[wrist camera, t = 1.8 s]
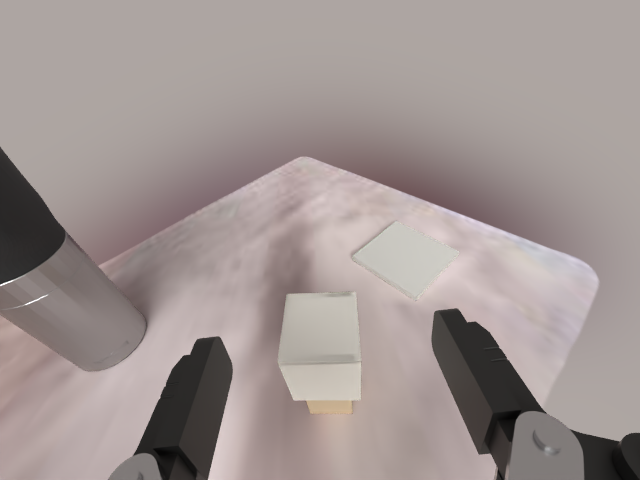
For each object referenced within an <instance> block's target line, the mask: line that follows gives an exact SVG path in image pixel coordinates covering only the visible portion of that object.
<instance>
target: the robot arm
mask: <svg viewBox="0 0 640 480" xmlns="http://www.w3.org/2000/svg"><path fill="white" fill-rule="evenodd" d="M0 315H1V316H3V317H4V318H6V319H7V320H9V321H10V322H12V323H13V324H15V325H16V326H18V327H19V328H21V329H22V330H24V331H25V332H27V333H28V334H30V335H31V336H33V337H34V338H36V339H37V340H39V341H40V342H42V343H43V344H45V345H46V346H48V347H49V348H51V349H52V350H54V351H55V352H57V353H58V354H60V355H61V356H63V357H64V358H66V359H67V360H69V361H70V362H72V363H73V364H75V365H76V366H78V367H79V368H81V369H83V370H85V371H100V370H103V369H107V368H109V367H111V366H114V365H115V364H117V363H119V362H120V361H122V360H123V359H124V358H126V357H127V356H128V355H129V354H130V353H131V352H132V351H133V350H134V349H135V348H136V347H137V346H138V344H139V343H140V341H141V340H142V338H143V336H144V333H145V330H146V321H145V318H144V317H143V315H142V314H141V313H140V312H139V311H138V310H137V309H136V308H135V306H134V305H133V304H132V303H131V302H130V301H129V300H128V299H127V297H126V296H125V295H124V294H123V293H122V292H121V291H120V290H119V289H118V288H117V286H116V285H115V284H114V283H113V282H112V281H111V280H110V279H109V278H108V277H107V275H106V274H105V273H104V272H103V271H102V270H101V269H100V268H99V267H98V266H97V265H96V263H95V262H94V261H93V260H92V259H91V258H90V257H89V256H88V255H87V254H86V253H85V251H84V250H83V249H82V248H81V247H80V246H79V245H78V244H77V243H76V242H75V241H74V239H73V238H72V237H71V236H70V235H69V234H68V233H67V232H66V231H65V230H64V228H63V227H62V226H61V225H60V224H59V223H58V222H57V220H56V219H55V218H54V216H53V215H52V213H51V212H50V210H49V208H48V207H47V205H46V204H45V202H44V201H43V200H42V198H41V197H40V196H39V194H38V193H37V192H36V191H35V189H34V188H33V187H32V186H31V185H30V184H29V182H28V181H27V180H26V179H25V178H24V176H23V175H22V174H21V173H20V171H19V170H18V169H17V168H16V166H15V165H14V164H13V163H12V162H11V160H10V159H9V158H8V156H7V155H6V154H5V153H4V151H3V150H2V149H1V147H0ZM432 347H433V351H434V354H435V357H436V359H437V361H438V363H439V366H440V368H441V370H442V372H443V375H444V377H445V379H446V381H447V384H448V386H449V388H450V390H451V393H452V395H453V397H454V399H455V402H456V404H457V406H458V409H459V411H460V413H461V415H462V418H463V420H464V422H465V424H466V427H467V429H468V431H469V433H470V436H471V438H472V440H473V442H474V445H475V447H476V449H477V451H478V454H489V453H491V455H492V457H493V459H494V461H495V463H496V465H497V466H496V471H495V477H494V480H640V433H631V434H629V435H626V436H625V437H624V438H623V439H622V440H621V441H620V442H619V441H614V440H610V439H605V438H600V437H596V436H592V435H586V434H582V433H579V432H576V431H573V430H571V429H569V428H567V427H566V426H565V425H564V424H563V423H562V422H560V421H559V420H557V419H556V418H554V417H552V416H550V415H548V414H547V413H546V412H545V411H544V410H543V409H542V408H541V406H540V405H539V404H538V402H537V401H536V399H535V398H534V397H533V395H532V394H531V392H530V391H529V389H528V388H527V386H526V385H525V383H524V382H523V380H522V379H521V378H520V376H519V375H518V373H517V372H516V370H515V369H514V367H513V366H512V364H511V363H510V362H509V360H507V357H506V356H505V354H504V353H503V351H502V350H501V349H500V348H499V345H498V344H497V343H496V341H495V340H494V338H493V337H492V335H491V334H490V332H488V331H487V330H486V329H485V328H483V327H482V326H481V325H479V324H478V323H477V322H468V323H467V322H466V320H465V318H464V317H463V315H462V314H461V312H460V311H459V310H458V309H457V308H455V309H447V310H438V311H435V313H434V320H433V329H432ZM232 373H233V369H232V362H231V359H230V357H229V355H228V353H227V351H226V348H225V346H224V344H223V342H222V340H221V338H220V337H218V336H217V337H209V338H201V339H197V340H196V342H195V344H194V346H193V349H192V351H191V354H190V355H184V356H183V357H182V358H181V359H180V360H179V362H178V363H177V364H176V365H175V366H174V368H173V369H172V371H171V373H170V376H169V378H168V380H167V382H166V387H164V389H163V391H162V394H161V398H160V399H159V400H158V403H157V405H156V407H155V410H154V412H153V414H152V416H151V419H150V421H149V423H148V425H147V428H146V430H145V432H144V434H143V437H142V439H141V441H140V443H139V446H138V448H137V450H136V452H135V453H134V455H133V456H132V457H130V458H129V459H127V460H126V461H124V462H123V463H122V464H121V465H120V466H119V467H118V468H117V469H116V470H115V471H114V472H113V473H112V474H111V476H110V477H109V479H108V480H208V476H209V472H210V468H211V464H212V459H213V455H214V451H215V447H216V443H217V438H218V434H219V430H220V426H221V422H222V418H223V413H224V409H225V405H226V401H227V397H228V392H229V388H230V384H231V380H232Z"/></svg>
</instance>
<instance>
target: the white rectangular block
mask: <svg viewBox="0 0 640 480" xmlns="http://www.w3.org/2000/svg"><path fill="white" fill-rule="evenodd" d="M277 362H278V365H279V367H280V370H281V372H282V374H283V377H284V379H285V381H286V384H287V386H288V388H289V391H290V393H291V395H292V398H293V400H361V350H360V337H359V324H358V311H357V299H356V292H330V293H299V294H287V296H286V303H285V310H284V317H283V324H282V332H281V339H280V346H279V353H278V361H277Z"/></svg>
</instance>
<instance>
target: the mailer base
mask: <svg viewBox="0 0 640 480" xmlns="http://www.w3.org/2000/svg"><path fill="white" fill-rule="evenodd" d="M306 402H307V405H308V408H309V411H310V414H353V412H352V400H306Z"/></svg>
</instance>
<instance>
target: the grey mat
mask: <svg viewBox="0 0 640 480" xmlns="http://www.w3.org/2000/svg"><path fill="white" fill-rule="evenodd" d="M459 252H460V251H458V250H456V249H454V248H452V247H450V246H448V245H445V244H443V243H441V242H439V241H437V240H435V239H433V238H431V237H429V236H427V235H425V234H423V233H421V232H419V231H417V230H415V229H413V228H411V227H409V226H406V225H404V224H402V223H400V222H398V221H395V222H394V223H393V224H392V225H390V226H389V227H388V228H387V229H385V230H384V231H383V232H382V233H380V234H379V235H378V236H377V237H375V238H374V239H373V240H372V241H370V242H369V243H368V244H367V245H365V246H364V247H363V248H362V249H360V250H359V251H358V252H357V253H356V254H354V255H353V256H352V257H353V261H355V262H356V263H358V264H359V265H361V266H362V267H364V268H365V269H367V270H369V271H370V272H372V273H373V274H375V275H376V276H378V277H379V278H381V279H382V280H384V281H385V282H387V283H389V284H390V285H392V286H393V287H395V288H396V289H398V290H399V291H401V292H402V293H404V294H405V295H407V296H409V297H410V298H412V299H413V300H415V301H416V300H417V299H418V298H419V297H420V296H421V295H422V294H423V293H424V292H425V291H426V290H427V289H428V287H429V286H430V285H431V284H432V283H433V282H434V281H435V280H436V279H437V278H438V277H439V276H440V275H441V274H442V272H443V271H444V270H445V269H446V268H447V267H448V266H449V265H450V264H451V263H452V262H453V261H454V260H455V259H456V257H457V256H458V255H459Z"/></svg>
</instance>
